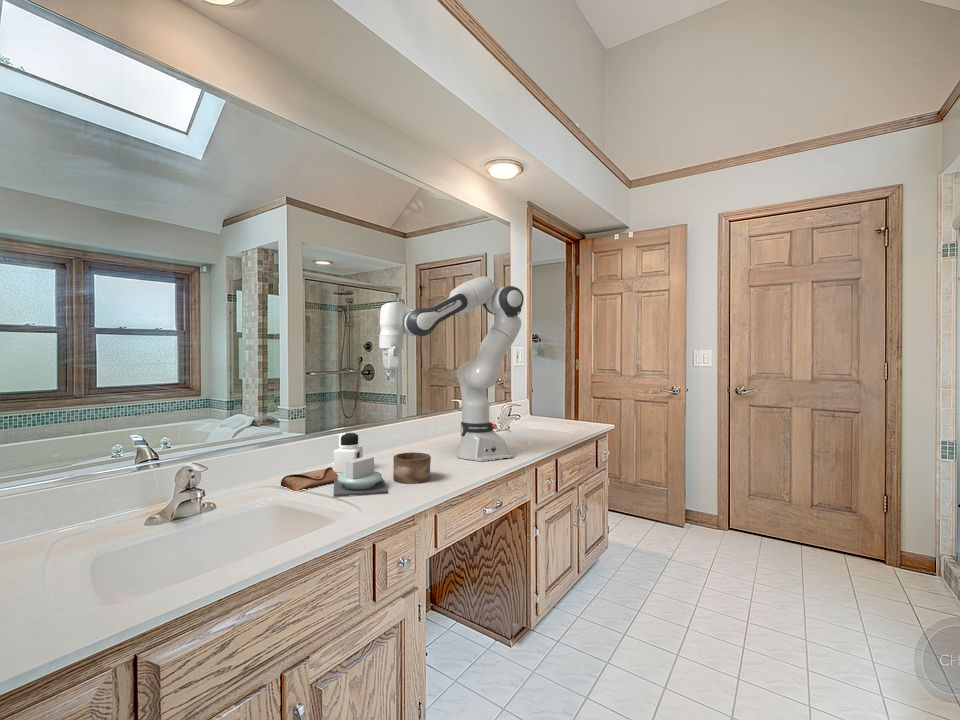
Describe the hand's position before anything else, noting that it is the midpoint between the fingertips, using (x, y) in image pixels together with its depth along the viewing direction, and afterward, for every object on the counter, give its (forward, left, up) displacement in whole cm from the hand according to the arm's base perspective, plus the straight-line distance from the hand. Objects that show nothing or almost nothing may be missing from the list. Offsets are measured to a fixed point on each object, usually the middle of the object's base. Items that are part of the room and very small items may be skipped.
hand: (390, 381), depth 172 cm
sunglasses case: (+25, +22, -32) cm, 46 cm away
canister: (-5, +23, -31) cm, 39 cm away
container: (+15, +7, -31) cm, 35 cm away
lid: (+12, +30, -30) cm, 44 cm away
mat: (+12, +30, -31) cm, 45 cm away
